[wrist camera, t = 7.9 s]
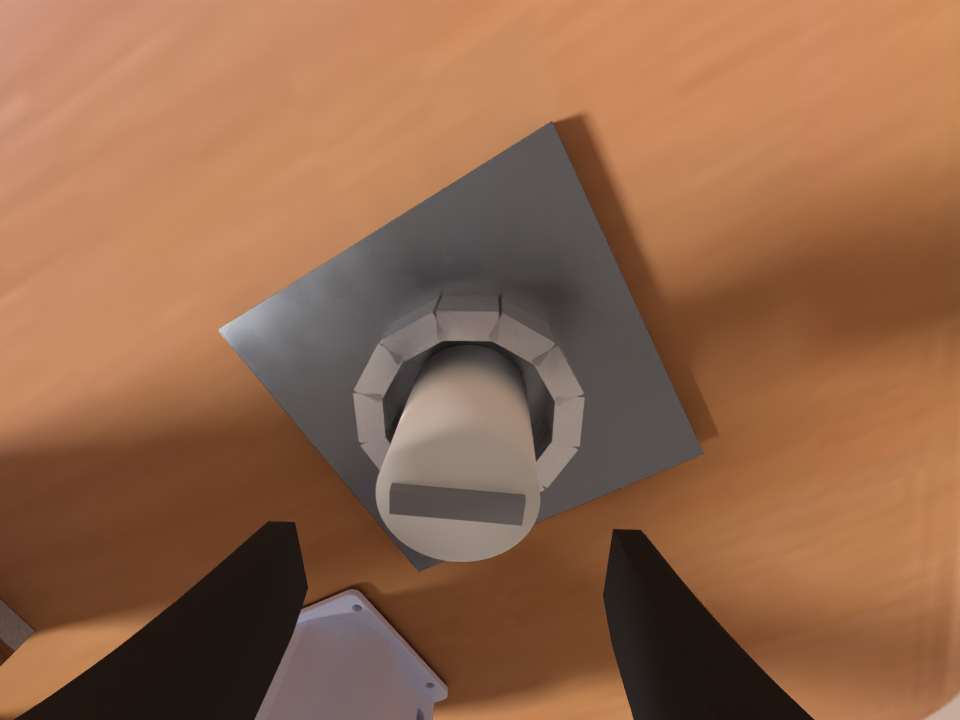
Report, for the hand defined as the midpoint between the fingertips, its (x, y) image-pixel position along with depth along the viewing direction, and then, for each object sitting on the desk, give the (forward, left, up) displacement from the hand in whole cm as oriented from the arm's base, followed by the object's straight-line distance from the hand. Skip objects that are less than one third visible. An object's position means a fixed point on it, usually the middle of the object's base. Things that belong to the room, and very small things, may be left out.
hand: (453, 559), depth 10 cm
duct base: (0, 0, -9) cm, 9 cm away
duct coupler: (0, 0, -8) cm, 8 cm away
